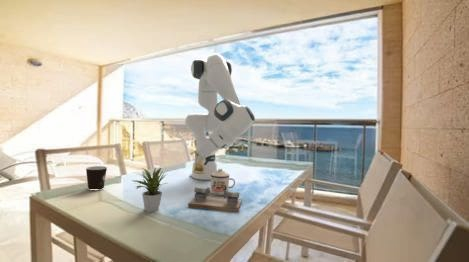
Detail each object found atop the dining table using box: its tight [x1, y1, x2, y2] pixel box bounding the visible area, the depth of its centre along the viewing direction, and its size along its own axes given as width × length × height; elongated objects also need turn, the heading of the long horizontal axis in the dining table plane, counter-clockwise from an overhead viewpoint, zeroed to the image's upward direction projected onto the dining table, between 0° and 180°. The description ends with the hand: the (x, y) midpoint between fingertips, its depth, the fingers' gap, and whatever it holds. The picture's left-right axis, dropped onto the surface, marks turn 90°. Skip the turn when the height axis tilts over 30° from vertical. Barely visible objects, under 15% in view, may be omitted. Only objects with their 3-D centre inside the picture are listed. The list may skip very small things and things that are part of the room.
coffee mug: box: [85, 165, 108, 190], centre depth 120 cm, size 12×9×10 cm
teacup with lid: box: [210, 168, 236, 196], centre depth 122 cm, size 12×9×12 cm
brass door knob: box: [193, 149, 205, 174], centre depth 105 cm, size 5×5×9 cm
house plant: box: [132, 166, 168, 213], centre depth 97 cm, size 14×14×16 cm
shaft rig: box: [187, 186, 243, 213], centre depth 104 cm, size 12×20×7 cm, turn 81°
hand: (198, 160), depth 105 cm, fingers closed on brass door knob, 4 cm apart
